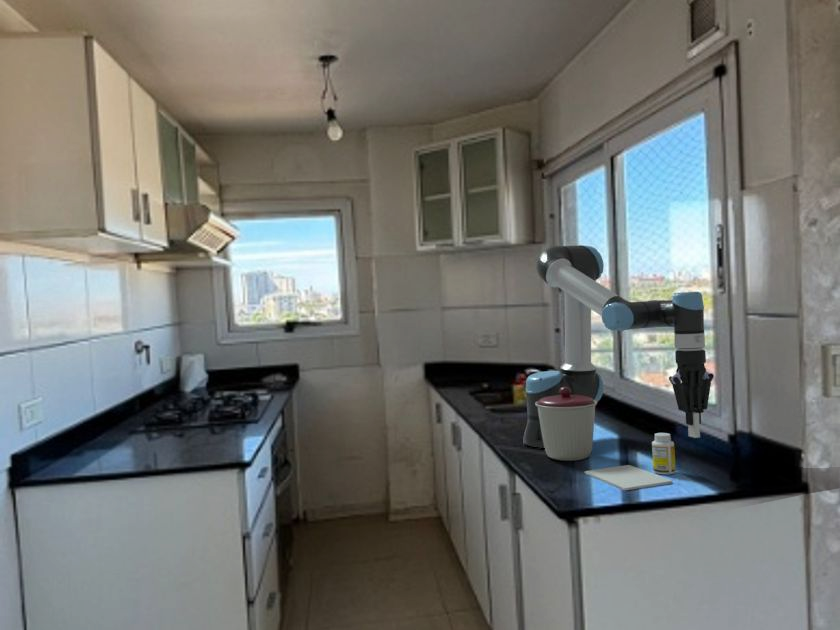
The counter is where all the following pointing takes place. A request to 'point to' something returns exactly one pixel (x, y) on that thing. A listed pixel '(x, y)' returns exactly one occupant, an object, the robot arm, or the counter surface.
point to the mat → (628, 477)
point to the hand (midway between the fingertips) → (694, 436)
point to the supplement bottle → (663, 454)
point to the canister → (567, 425)
